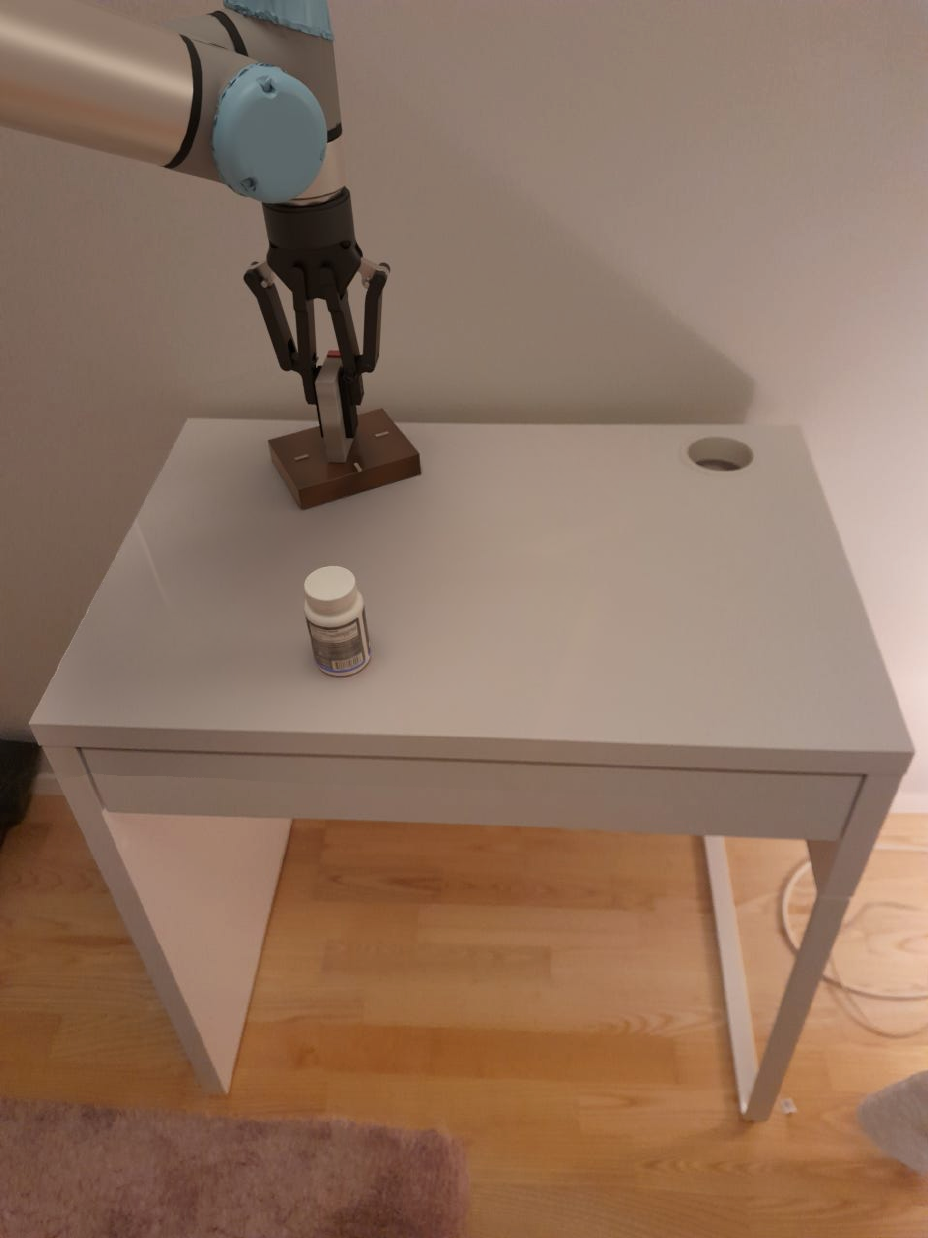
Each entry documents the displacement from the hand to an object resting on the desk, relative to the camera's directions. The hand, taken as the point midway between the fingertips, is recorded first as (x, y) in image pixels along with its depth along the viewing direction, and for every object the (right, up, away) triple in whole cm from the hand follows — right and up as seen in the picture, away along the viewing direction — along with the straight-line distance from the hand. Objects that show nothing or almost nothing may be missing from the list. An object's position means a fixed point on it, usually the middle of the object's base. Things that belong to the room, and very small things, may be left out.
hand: (339, 430), depth 95 cm
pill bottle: (+3, -22, -17) cm, 28 cm away
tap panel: (0, -3, +3) cm, 4 cm away
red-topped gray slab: (0, -1, +1) cm, 2 cm away
